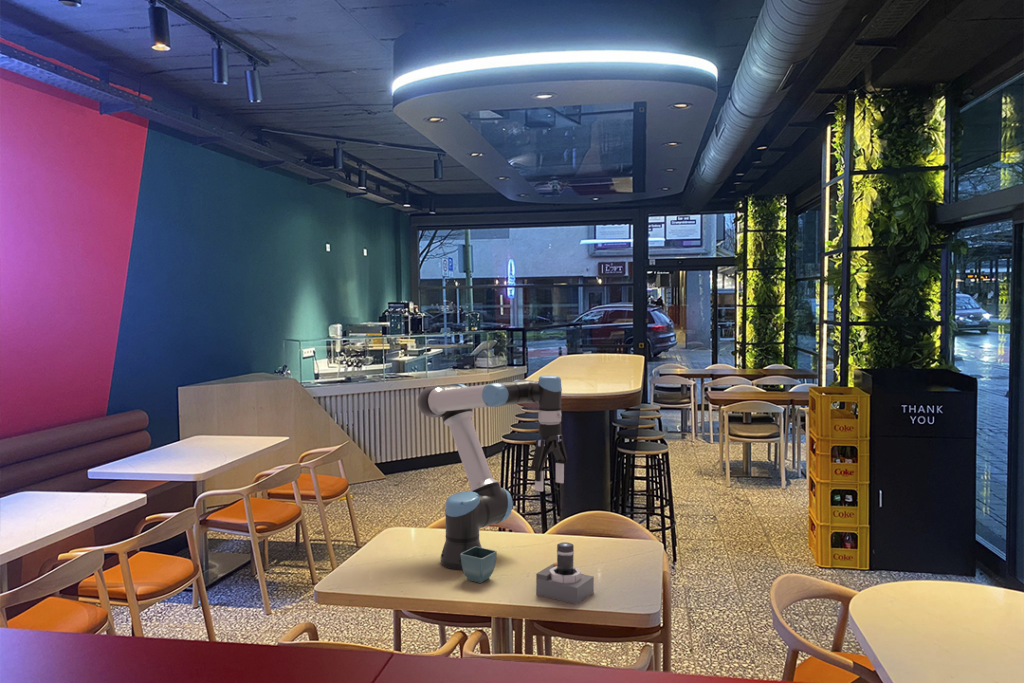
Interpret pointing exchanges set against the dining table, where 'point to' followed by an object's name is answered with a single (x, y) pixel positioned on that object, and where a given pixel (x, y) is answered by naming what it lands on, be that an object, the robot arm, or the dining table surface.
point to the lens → (565, 558)
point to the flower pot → (478, 563)
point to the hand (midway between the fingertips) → (549, 486)
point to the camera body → (564, 585)
